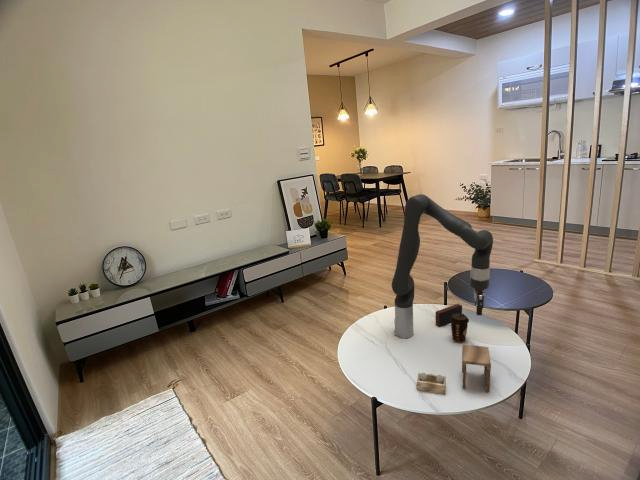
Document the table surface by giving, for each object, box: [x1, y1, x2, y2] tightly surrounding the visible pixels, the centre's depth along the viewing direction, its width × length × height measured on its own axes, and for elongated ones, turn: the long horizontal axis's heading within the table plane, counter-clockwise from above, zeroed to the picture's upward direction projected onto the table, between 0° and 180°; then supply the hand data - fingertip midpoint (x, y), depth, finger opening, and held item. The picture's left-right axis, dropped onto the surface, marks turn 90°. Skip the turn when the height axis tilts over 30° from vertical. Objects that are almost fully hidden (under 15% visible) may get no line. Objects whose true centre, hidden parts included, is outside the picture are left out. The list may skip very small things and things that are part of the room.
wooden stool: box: [461, 343, 492, 393], centre depth 146 cm, size 10×12×13 cm
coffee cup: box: [450, 312, 470, 344], centre depth 176 cm, size 9×8×13 cm
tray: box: [416, 372, 447, 395], centre depth 146 cm, size 11×6×6 cm, turn 70°
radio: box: [434, 302, 463, 328], centre depth 192 cm, size 19×3×15 cm, turn 115°
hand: (478, 310), depth 157 cm, fingers open, 8 cm apart
